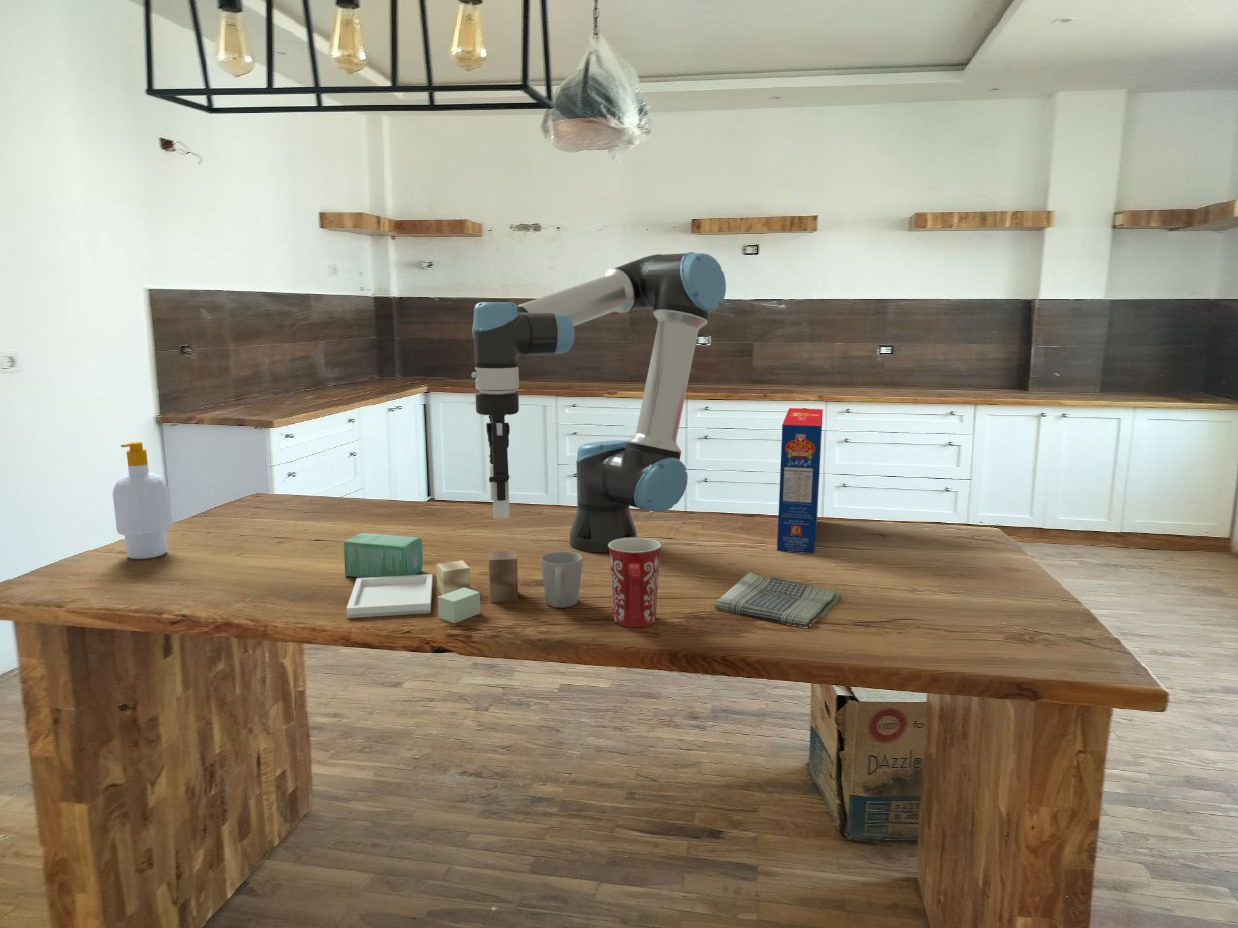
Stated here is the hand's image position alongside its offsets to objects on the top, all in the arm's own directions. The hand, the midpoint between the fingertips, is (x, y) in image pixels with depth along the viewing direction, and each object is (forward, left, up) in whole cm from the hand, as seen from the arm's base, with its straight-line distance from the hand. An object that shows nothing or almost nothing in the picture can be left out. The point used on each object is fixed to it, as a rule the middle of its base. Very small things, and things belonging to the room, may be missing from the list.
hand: (499, 508), depth 154 cm
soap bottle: (+73, -39, -17) cm, 84 cm away
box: (+22, -17, -17) cm, 33 cm away
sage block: (+8, +8, -17) cm, 20 cm away
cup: (-10, +6, -17) cm, 21 cm away
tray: (+20, -2, -17) cm, 26 cm away
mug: (-21, +17, -17) cm, 32 cm away
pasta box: (-70, -30, -17) cm, 78 cm away
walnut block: (0, 0, -17) cm, 17 cm away
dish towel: (-49, +12, -18) cm, 54 cm away
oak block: (+9, -5, -17) cm, 20 cm away
